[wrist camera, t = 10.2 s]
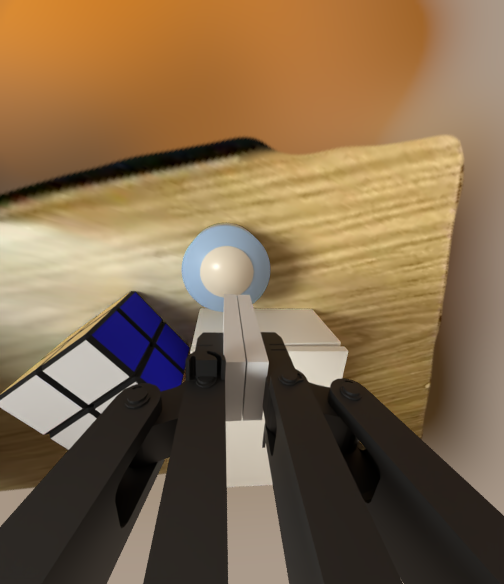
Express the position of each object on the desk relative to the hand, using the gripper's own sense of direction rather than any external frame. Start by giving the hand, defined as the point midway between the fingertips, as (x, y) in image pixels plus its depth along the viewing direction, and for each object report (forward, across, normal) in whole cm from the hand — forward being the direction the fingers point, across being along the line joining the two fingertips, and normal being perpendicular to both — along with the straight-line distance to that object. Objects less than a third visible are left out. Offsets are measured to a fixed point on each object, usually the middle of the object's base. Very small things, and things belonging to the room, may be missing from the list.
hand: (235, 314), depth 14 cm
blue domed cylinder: (+13, 0, +1) cm, 13 cm away
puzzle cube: (+13, -12, -10) cm, 20 cm away
